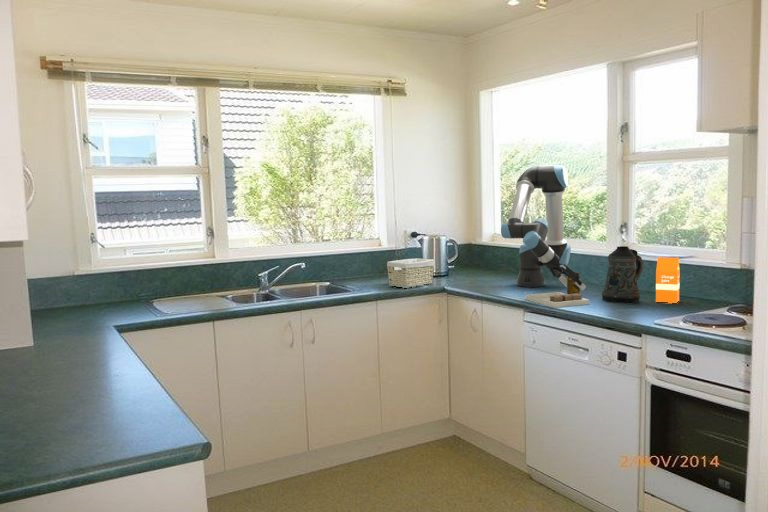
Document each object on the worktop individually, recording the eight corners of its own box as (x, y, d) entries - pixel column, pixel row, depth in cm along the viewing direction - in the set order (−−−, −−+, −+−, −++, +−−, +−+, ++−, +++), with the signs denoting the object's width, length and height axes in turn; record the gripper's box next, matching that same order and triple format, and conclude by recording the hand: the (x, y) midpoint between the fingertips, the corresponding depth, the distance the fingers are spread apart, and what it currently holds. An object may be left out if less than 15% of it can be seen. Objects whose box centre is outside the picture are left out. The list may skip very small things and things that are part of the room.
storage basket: (415, 282, 370) (415, 257, 368) (436, 284, 358) (435, 258, 357) (386, 287, 354) (385, 261, 352) (406, 290, 342) (405, 263, 340)
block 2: (559, 303, 283) (559, 295, 283) (566, 302, 285) (565, 294, 285) (565, 305, 280) (565, 296, 279) (572, 304, 281) (572, 295, 281)
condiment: (580, 298, 299) (580, 273, 297) (562, 298, 301) (562, 273, 300) (580, 295, 306) (580, 271, 304) (562, 295, 308) (562, 271, 307)
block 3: (569, 302, 285) (569, 294, 285) (577, 302, 286) (577, 293, 286) (573, 304, 282) (573, 295, 281) (581, 303, 282) (581, 294, 282)
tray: (525, 300, 298) (525, 295, 298) (558, 297, 304) (558, 291, 303) (554, 308, 275) (554, 303, 275) (589, 305, 281) (589, 299, 281)
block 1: (549, 304, 282) (549, 296, 282) (557, 303, 283) (557, 295, 283) (554, 306, 278) (554, 297, 278) (562, 305, 280) (562, 296, 279)
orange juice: (677, 303, 277) (677, 258, 275) (655, 302, 282) (656, 258, 280) (679, 300, 284) (680, 257, 282) (658, 299, 288) (658, 256, 286)
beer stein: (596, 302, 288) (596, 248, 285) (611, 295, 302) (611, 244, 300) (633, 305, 277) (633, 249, 274) (647, 298, 292) (647, 245, 289)
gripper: (530, 261, 309) (557, 289, 315) (558, 266, 286) (586, 296, 292) (539, 249, 310) (566, 277, 316) (568, 253, 287) (596, 284, 293)
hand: (576, 286), depth 304 cm, fingers open, 12 cm apart
